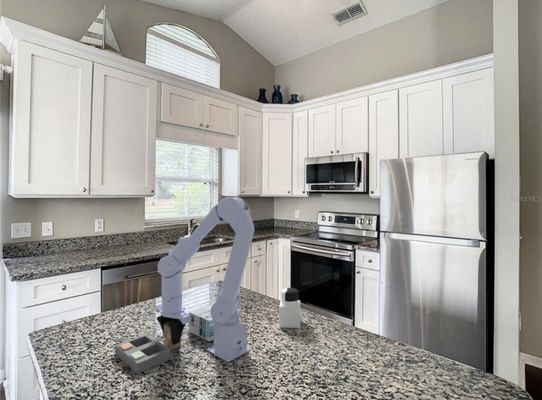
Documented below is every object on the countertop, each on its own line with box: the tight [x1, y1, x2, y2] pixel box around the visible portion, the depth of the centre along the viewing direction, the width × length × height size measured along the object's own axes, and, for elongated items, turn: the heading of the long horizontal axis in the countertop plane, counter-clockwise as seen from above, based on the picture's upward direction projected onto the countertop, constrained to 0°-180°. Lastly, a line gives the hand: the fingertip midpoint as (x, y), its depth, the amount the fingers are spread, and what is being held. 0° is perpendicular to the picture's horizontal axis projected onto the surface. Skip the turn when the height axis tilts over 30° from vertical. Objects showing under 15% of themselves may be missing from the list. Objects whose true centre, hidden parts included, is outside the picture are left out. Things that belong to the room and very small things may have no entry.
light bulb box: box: [188, 303, 214, 342], centre depth 96 cm, size 11×7×11 cm
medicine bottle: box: [278, 287, 301, 329], centre depth 102 cm, size 7×7×12 cm
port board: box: [114, 333, 172, 375], centre depth 81 cm, size 14×9×3 cm, turn 49°
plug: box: [163, 320, 182, 351], centre depth 87 cm, size 3×3×7 cm
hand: (172, 341), depth 87 cm, fingers closed on plug, 3 cm apart
